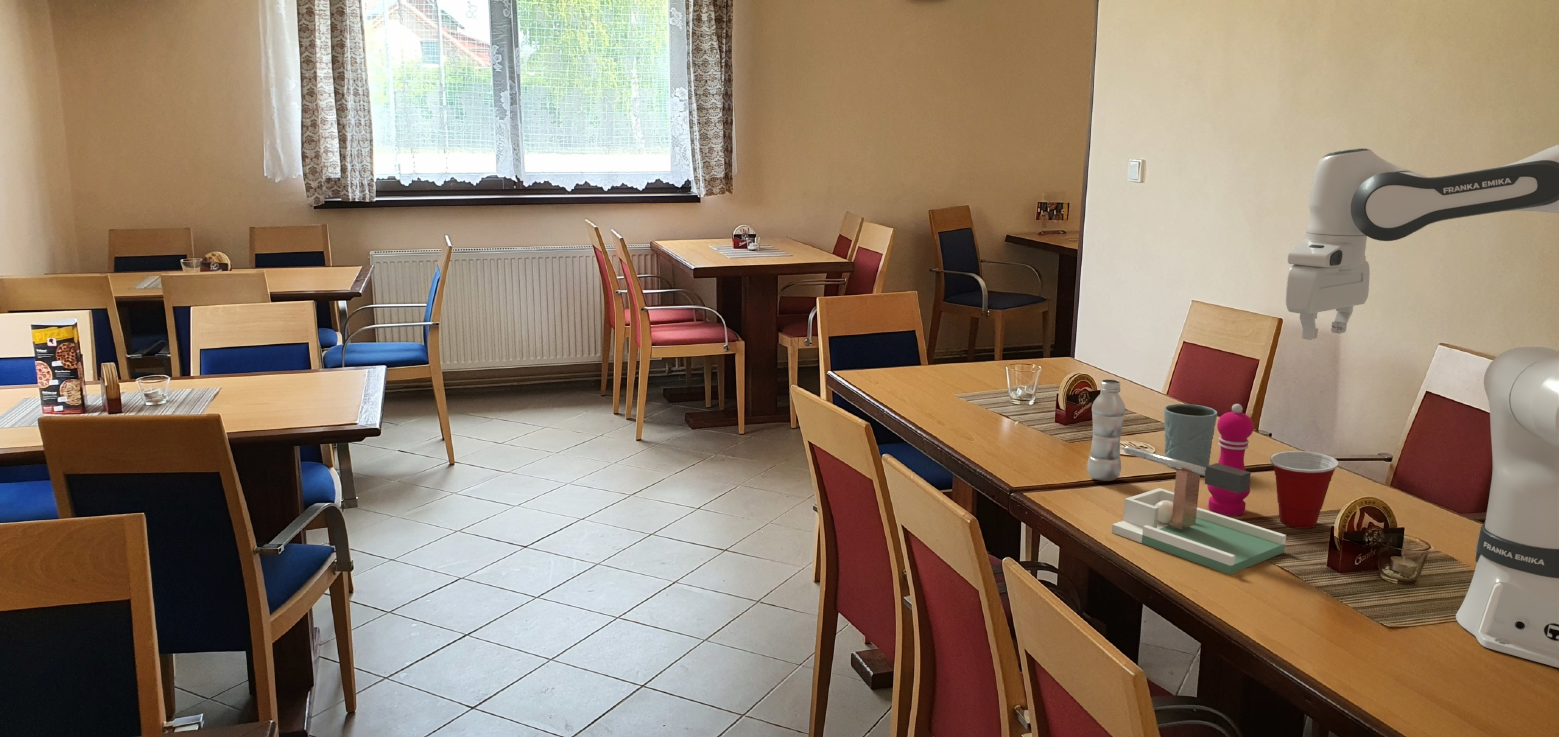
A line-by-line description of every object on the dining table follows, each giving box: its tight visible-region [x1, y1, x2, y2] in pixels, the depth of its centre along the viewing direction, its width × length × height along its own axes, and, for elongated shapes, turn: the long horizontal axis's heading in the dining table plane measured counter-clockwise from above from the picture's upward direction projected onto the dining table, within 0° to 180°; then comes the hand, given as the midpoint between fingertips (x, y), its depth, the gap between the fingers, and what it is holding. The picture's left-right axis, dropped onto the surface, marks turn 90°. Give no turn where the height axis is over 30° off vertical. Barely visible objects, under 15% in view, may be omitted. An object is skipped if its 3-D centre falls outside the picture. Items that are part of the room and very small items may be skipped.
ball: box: [1155, 500, 1173, 524], centre depth 184 cm, size 4×4×4 cm
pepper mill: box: [1206, 403, 1254, 516], centre depth 193 cm, size 7×7×20 cm
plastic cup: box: [1269, 450, 1339, 529], centre depth 188 cm, size 11×11×12 cm
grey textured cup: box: [1163, 403, 1218, 471], centre depth 220 cm, size 10×10×12 cm
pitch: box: [1111, 487, 1287, 576], centre depth 179 cm, size 22×16×6 cm
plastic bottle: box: [1086, 379, 1126, 482], centre depth 210 cm, size 6×7×20 cm
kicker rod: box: [1123, 445, 1252, 529], centre depth 181 cm, size 23×4×12 cm, turn 37°
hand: (1323, 335), depth 175 cm, fingers open, 8 cm apart
